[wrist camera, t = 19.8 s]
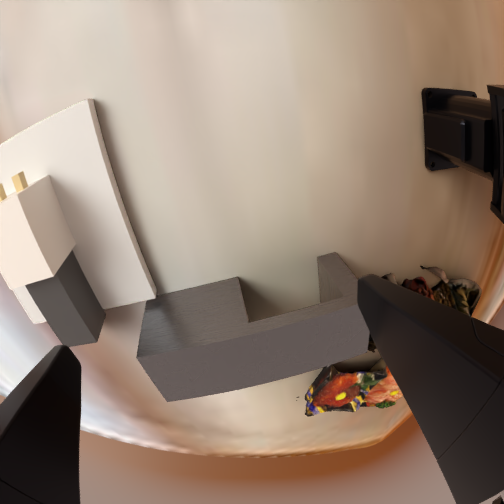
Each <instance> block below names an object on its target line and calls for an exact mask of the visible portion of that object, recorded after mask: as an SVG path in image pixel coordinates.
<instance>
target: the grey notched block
mask: <svg viewBox="0 0 504 504" xmlns="http://www.w3.org/2000/svg"><path fill="white" fill-rule="evenodd" d="M317 261H318V274H319V288H320V304H317V305H314V306H310V307H307V308H303V309H299V310H296V311H292V312H288V313H285V314H281V315H277V316H273V317H269V318H265V319H261V320H257V321H253V322H250V321H249V317H248V314H247V310H246V306H245V302H244V298H243V295H242V291H241V287H240V283H239V279H238V277H235V278H231V279H227V280H223V281H219V282H215V283H210V284H206V285H202V286H198V287H193V288H189V289H185V290H181V291H176V292H172V293H168V294H163V295H159V296H156V298H155V299H150V300H147V302H146V306H145V312H144V317H143V322H142V328H141V333H140V339H139V345H138V351H137V357H136V358H137V359H138V361H139V362H140V364H141V365H142V367H143V368H144V370H145V371H146V373H147V374H148V376H149V377H150V379H151V380H152V381H153V383H154V384H155V386H156V387H157V388H158V390H159V391H160V393H161V394H162V395H163V397H164V398H165V399H166V401H167V402H170V401H177V400H184V399H190V398H196V397H202V396H208V395H213V394H218V393H224V392H229V391H233V390H238V389H243V388H247V387H252V386H256V385H260V384H264V383H268V382H272V381H276V380H280V379H284V378H288V377H291V376H295V375H299V374H302V373H306V372H309V371H312V370H316V369H319V368H322V367H325V366H328V365H332V364H335V363H338V362H341V361H344V360H347V359H350V358H353V357H355V356H358V355H361V354H364V353H367V349H368V342H369V333H370V332H369V329H368V327H367V325H366V322H365V320H364V318H363V316H362V314H361V311H360V309H359V307H358V303H357V284H358V280H357V278H356V277H355V276H354V274H353V273H352V272H351V271H350V269H349V268H348V267H347V266H346V264H345V263H344V262H343V261H342V259H341V258H340V257H339V256H338V254H337V253H336V252H334V253H330V254H327V255H323V256H319V257H317Z"/></svg>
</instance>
